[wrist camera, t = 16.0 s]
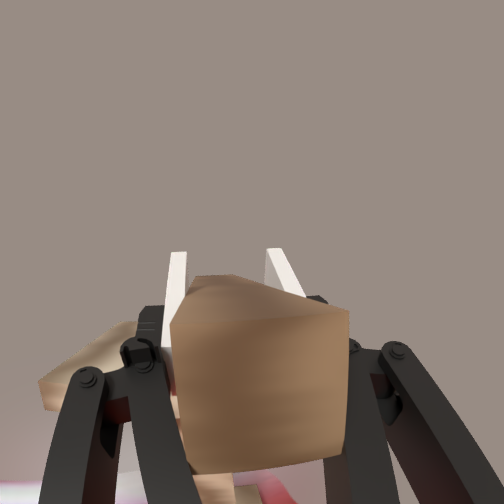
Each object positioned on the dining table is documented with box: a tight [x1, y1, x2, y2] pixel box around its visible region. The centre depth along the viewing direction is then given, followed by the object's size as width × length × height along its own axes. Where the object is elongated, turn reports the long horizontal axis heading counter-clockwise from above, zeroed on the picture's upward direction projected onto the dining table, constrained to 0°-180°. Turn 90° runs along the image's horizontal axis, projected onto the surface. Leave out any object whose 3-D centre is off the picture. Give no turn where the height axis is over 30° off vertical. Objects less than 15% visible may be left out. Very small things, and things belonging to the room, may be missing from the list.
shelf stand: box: [38, 322, 262, 504], centre depth 26 cm, size 16×22×29 cm
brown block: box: [169, 275, 349, 475], centre depth 20 cm, size 4×28×4 cm, turn 9°
